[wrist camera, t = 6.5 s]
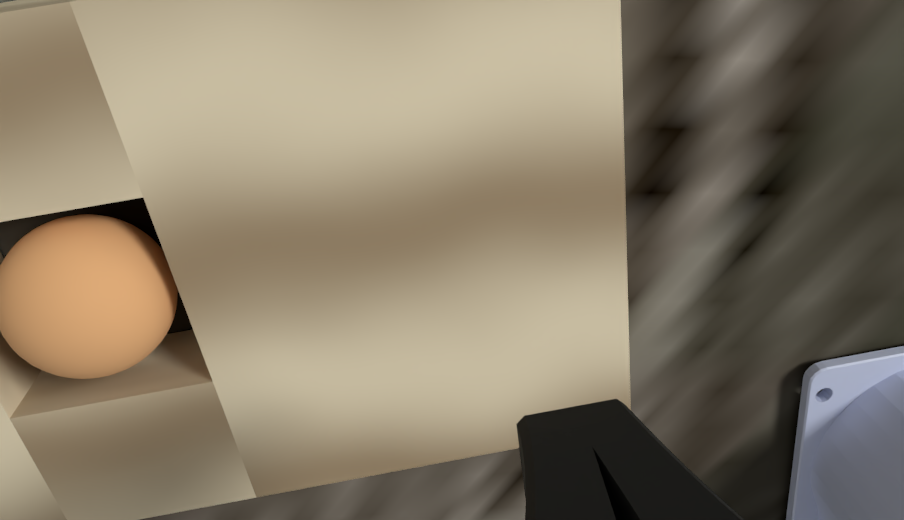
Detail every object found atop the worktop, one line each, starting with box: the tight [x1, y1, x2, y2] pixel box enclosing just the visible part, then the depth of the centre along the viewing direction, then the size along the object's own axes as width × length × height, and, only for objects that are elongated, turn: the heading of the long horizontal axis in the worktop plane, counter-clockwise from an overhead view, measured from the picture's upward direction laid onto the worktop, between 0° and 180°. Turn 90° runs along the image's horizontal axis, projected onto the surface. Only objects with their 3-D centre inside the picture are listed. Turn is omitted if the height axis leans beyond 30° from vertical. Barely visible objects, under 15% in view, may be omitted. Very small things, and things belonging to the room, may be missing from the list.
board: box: [0, 0, 631, 520], centre depth 16 cm, size 12×20×2 cm, turn 98°
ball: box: [0, 214, 178, 379], centre depth 16 cm, size 4×4×4 cm
